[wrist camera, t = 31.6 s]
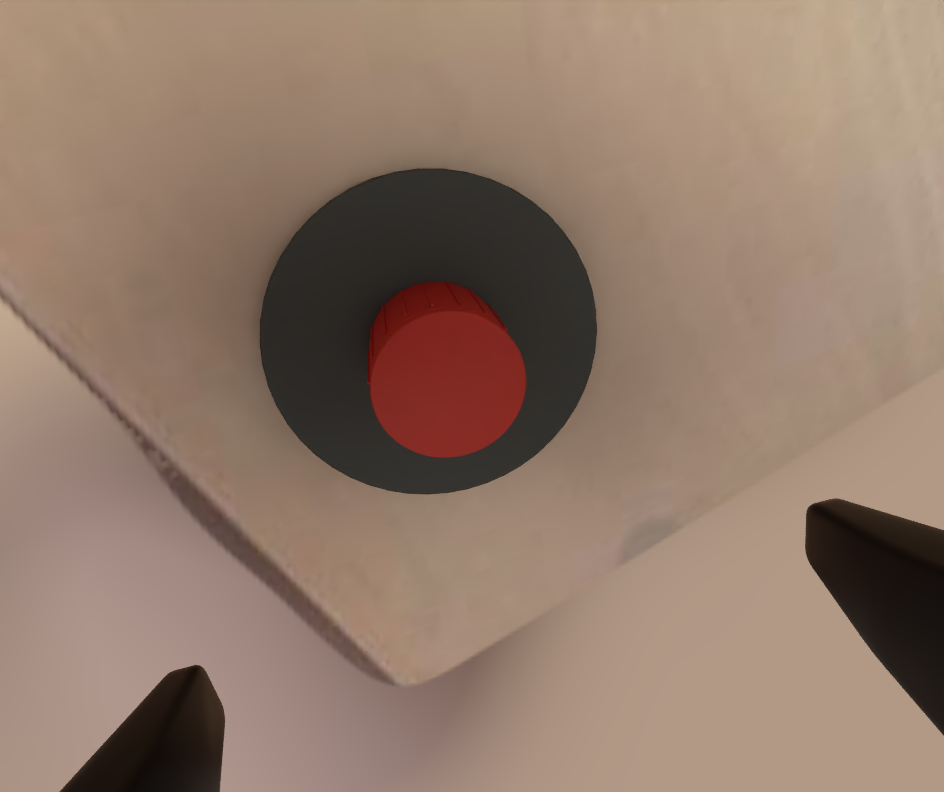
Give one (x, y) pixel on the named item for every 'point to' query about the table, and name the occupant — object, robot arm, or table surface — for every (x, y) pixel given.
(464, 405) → the cap
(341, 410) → the coaster
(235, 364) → the table surface
